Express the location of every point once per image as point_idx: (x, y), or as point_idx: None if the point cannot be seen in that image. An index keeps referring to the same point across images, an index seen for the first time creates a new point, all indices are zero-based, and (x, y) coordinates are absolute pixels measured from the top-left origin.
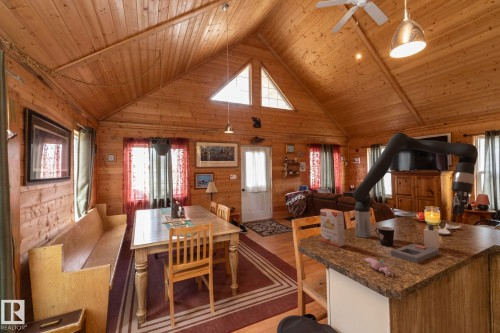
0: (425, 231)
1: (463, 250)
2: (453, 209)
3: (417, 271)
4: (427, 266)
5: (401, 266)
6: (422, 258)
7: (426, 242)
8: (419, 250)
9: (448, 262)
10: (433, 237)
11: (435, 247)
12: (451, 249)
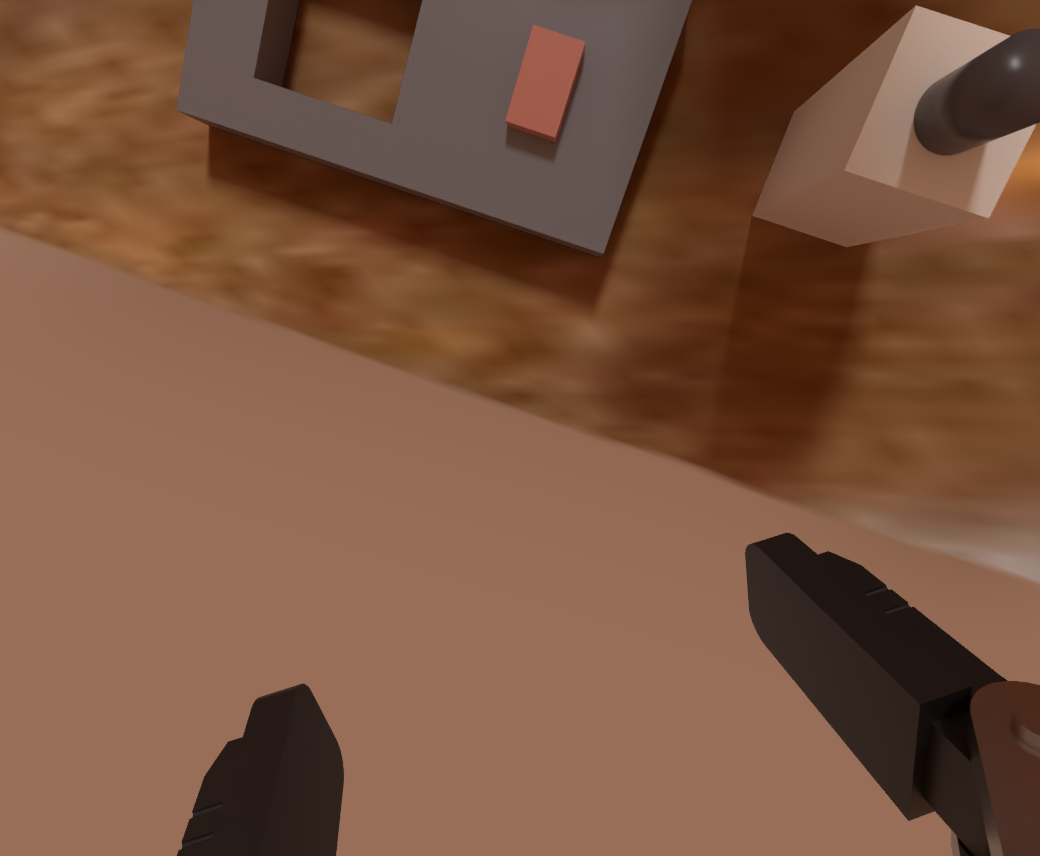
0: (886, 47)
1: (871, 437)
2: (845, 633)
3: (41, 157)
4: (200, 206)
5: (49, 29)
6: (290, 150)
7: (809, 114)
8: (441, 93)
9: (410, 334)
10: (808, 178)
11: (766, 215)
12: (848, 347)
